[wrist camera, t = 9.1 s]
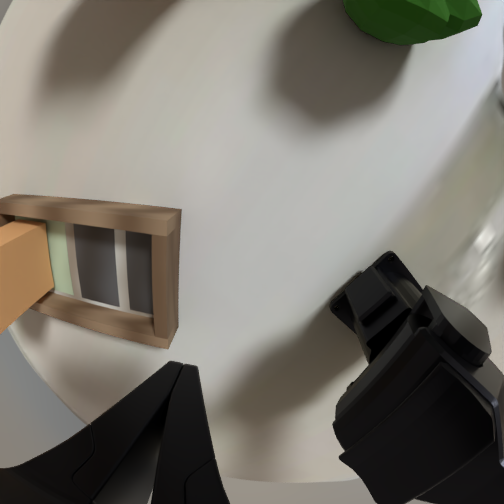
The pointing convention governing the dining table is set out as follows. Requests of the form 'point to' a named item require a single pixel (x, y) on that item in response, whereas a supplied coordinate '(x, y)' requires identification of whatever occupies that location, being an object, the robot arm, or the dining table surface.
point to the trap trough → (108, 264)
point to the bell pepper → (413, 18)
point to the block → (22, 268)
